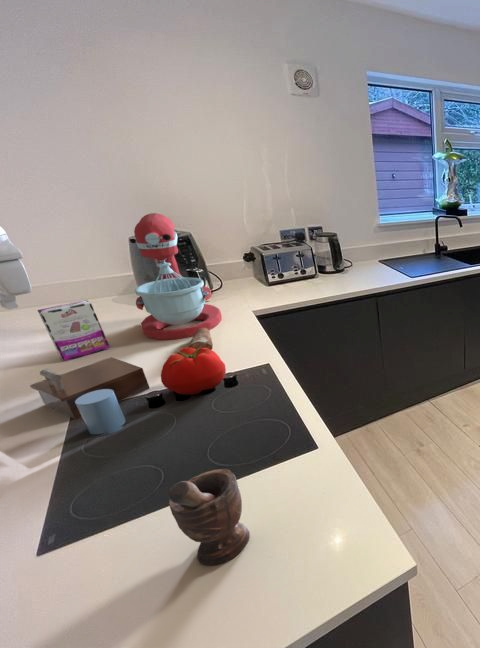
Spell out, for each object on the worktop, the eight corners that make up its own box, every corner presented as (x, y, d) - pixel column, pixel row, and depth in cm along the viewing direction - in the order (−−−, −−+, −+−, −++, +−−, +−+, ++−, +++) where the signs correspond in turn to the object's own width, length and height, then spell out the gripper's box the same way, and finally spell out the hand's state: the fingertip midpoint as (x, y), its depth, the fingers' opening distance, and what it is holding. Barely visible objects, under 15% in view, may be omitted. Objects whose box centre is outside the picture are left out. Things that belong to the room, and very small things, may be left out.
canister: (99, 439, 91) (84, 407, 88) (84, 432, 94) (68, 400, 90) (132, 424, 97) (119, 392, 93) (117, 417, 99) (104, 386, 96)
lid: (61, 402, 94) (52, 383, 92) (30, 387, 99) (21, 369, 97) (143, 370, 108) (136, 353, 106) (112, 359, 113) (105, 343, 111)
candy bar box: (106, 344, 135) (87, 299, 128) (110, 348, 132) (92, 302, 126) (58, 357, 126) (36, 309, 120) (62, 361, 123) (40, 312, 117)
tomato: (234, 388, 112) (224, 351, 108) (170, 408, 103) (156, 369, 98) (224, 371, 121) (214, 336, 116) (164, 387, 112) (150, 350, 107)
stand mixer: (139, 347, 133) (94, 227, 118) (146, 317, 157) (109, 213, 141) (224, 331, 147) (194, 221, 131) (219, 305, 170) (193, 209, 154)
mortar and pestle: (264, 560, 66) (235, 467, 58) (200, 597, 60) (159, 498, 53) (246, 517, 73) (219, 429, 66) (188, 546, 68) (150, 453, 60)
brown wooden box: (76, 422, 97) (66, 400, 95) (46, 407, 102) (35, 386, 100) (150, 390, 110) (143, 370, 108) (120, 378, 115) (112, 359, 113)
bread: (190, 360, 126) (185, 344, 124) (195, 338, 141) (190, 323, 139) (214, 355, 129) (209, 340, 127) (217, 334, 144) (212, 320, 142)
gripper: (-62, 246, 88) (-31, 304, 94) (-20, 257, 81) (11, 319, 87) (-19, 241, 94) (8, 297, 99) (24, 251, 87) (51, 310, 92)
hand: (10, 307), depth 93 cm, fingers closed
